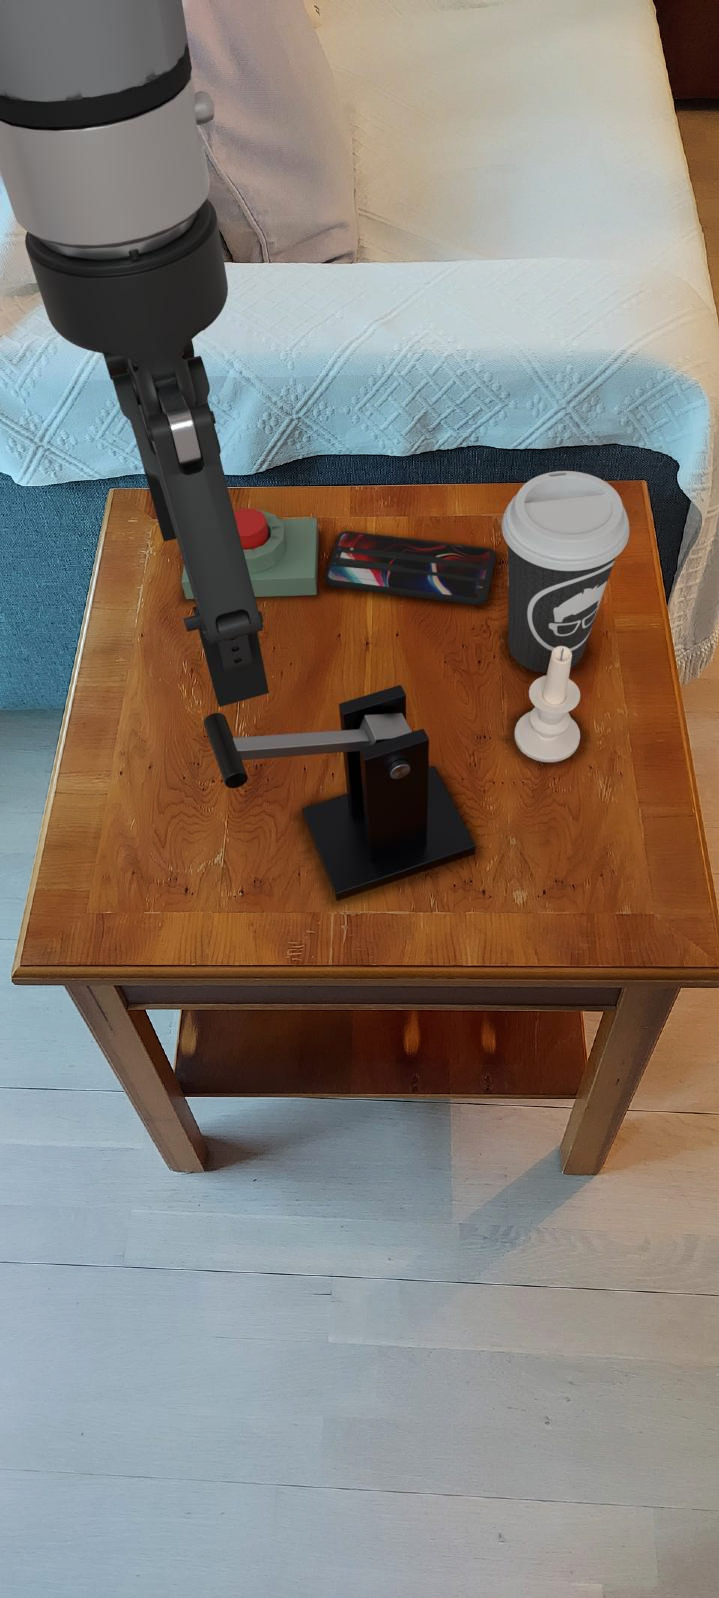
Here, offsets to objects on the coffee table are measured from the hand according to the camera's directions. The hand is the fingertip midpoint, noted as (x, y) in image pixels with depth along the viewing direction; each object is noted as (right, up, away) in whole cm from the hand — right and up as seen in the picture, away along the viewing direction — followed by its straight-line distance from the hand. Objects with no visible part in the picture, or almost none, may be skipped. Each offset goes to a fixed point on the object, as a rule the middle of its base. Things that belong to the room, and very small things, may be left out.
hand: (211, 608), depth 56 cm
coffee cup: (+24, +2, +30) cm, 39 cm away
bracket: (+10, -13, +20) cm, 26 cm away
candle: (+23, -6, +25) cm, 35 cm away
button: (-2, +13, +34) cm, 37 cm away
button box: (-2, +11, +37) cm, 39 cm away
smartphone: (+13, +10, +36) cm, 40 cm away
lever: (+5, -8, +9) cm, 13 cm away
